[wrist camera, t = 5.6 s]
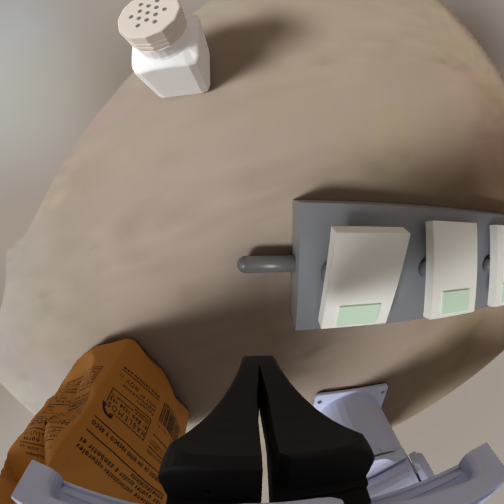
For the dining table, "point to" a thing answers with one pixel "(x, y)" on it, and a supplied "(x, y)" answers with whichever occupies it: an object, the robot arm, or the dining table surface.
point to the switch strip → (374, 215)
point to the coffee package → (104, 427)
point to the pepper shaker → (166, 47)
